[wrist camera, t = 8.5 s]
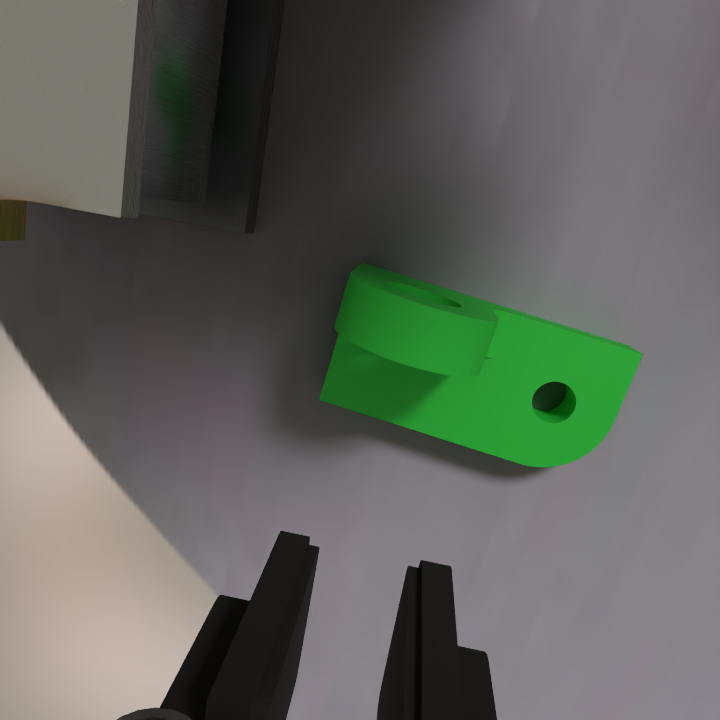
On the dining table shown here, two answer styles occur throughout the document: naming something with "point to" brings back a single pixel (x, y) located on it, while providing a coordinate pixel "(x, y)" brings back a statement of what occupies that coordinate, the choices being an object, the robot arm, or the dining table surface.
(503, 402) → the mechanical part
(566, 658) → the dining table surface
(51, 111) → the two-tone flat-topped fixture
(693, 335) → the dining table surface
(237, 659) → the robot arm
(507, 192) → the dining table surface
